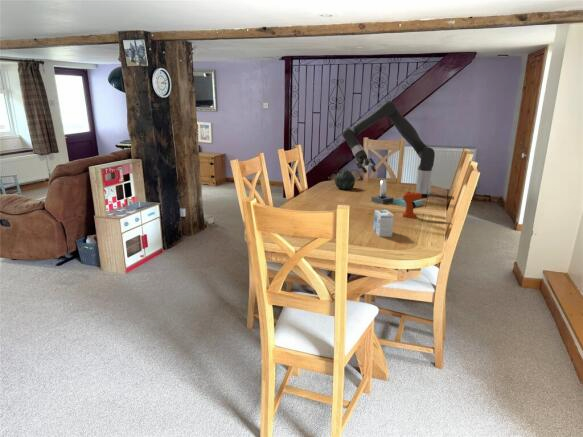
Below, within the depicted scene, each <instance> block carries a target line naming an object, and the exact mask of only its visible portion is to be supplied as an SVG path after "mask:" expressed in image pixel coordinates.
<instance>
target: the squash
mask: <svg viewBox="0 0 583 437" xmlns="http://www.w3.org/2000/svg"><path fill="white" fill-rule="evenodd" d="M355 179H356V178H355V176H354V175H353V173H351V171H349V170H343V171H341V172H339V173H338V174H337V175H336V176H335V178H334V183H335V186H336V187H337V188H338V189H342V190H344V191H345V190H347V191H349V190H351V189H353V188H354V187H355V185H356V184H355V183H356V180H355Z"/></svg>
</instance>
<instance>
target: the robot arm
mask: <svg viewBox="0 0 583 437" xmlns="http://www.w3.org/2000/svg"><path fill="white" fill-rule="evenodd" d="M386 117H387V118H388V119H389V120H390V121H391V123H392V124H393V126H394V127H395V129H396V130H397V131H398V132H399V134H400V135H401V136H402V138H403V139H405V141H406V142H407V143H408V144H409V145H410V146H411V147H412V148H413V150H414V151H415V153H416V155H417V156H418V158H419V159H420V163H419V165H418V168H417V178H416V187H415V188H416V189H415V193H416V192H418V193H421V194H427V195H431V188H432V172H433V167H434V163H435V157H436V155H435V150H434V149H433V147H430V146H428V145H426V144H425V143H424V142H423V141H422V139H421V138H420V136H419V134H418V132H417V130H416V128H414V126H413V125H412V124H411V123H410V121H409V120H407V118H406V117H405V116H403V115H402V114H401V113H400V112H399V110H398V109H397V107H396V104H395V103H394V102H393V101H392V100H389V99H386V100H384V101H383V102H382V103H381V104H380V107H379V108H378V109H377V110H376V111H374V112H372V113H371V114H369V115H367V116H365V117H363V118H362V119H360V120H358V121H357V122H356V123H354V124H353V128H352V129H351V128H349V127H346V128H343V130H342V132H341V134H342V137H343V139H344V140H345V141H346V143H347V145H348V147H349V148H350V150H351V151H352V154H353V157H354V158H355V159H356V161H355V165H356V166H357V168H358V169H360V170H361V171H362V172H363V173H364V174H367V173H368V170H367V168H366V167H368V168H370V169H371V170H372V172H373V173H376V171H377V169H376V168H375V166H376V163H375V162H374V160H373V158H372V157H370V158H368V154H367V152H366V150H365V149H364V147H363V146H362V145H361V143H360V142H359V140H358V139H357V137H358V136H359V135H360V134H361V133H362V132H364V131H365V130H367V129H368V128H369V127H371V126H372V125H374V124H375V123H377V122H378V121H381V120H382V119H384V118H386ZM365 166H366V167H365Z"/></svg>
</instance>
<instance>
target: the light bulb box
mask: <svg viewBox="0 0 583 437" xmlns="http://www.w3.org/2000/svg"><path fill="white" fill-rule="evenodd" d="M394 218H395V215H394V214H393V213H392V212H390V211H389V210H388V209H375V210H374V217H373V232H374V233H375V234H376V235H377V237H383V238H384V237H387V238H388V237H391V238H392V237H393V228H394Z"/></svg>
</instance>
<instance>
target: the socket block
mask: <svg viewBox="0 0 583 437" xmlns="http://www.w3.org/2000/svg"><path fill="white" fill-rule="evenodd" d="M379 196H380V194H378V195H375V196H371V200H370V201H371V202H374V203H377V204H380V205H381V204H382V205H385V204H390V203H391V202H392V203H393V199H395V198H394V197H393V196H387V195H386V198H379ZM392 203H391V204H392Z"/></svg>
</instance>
